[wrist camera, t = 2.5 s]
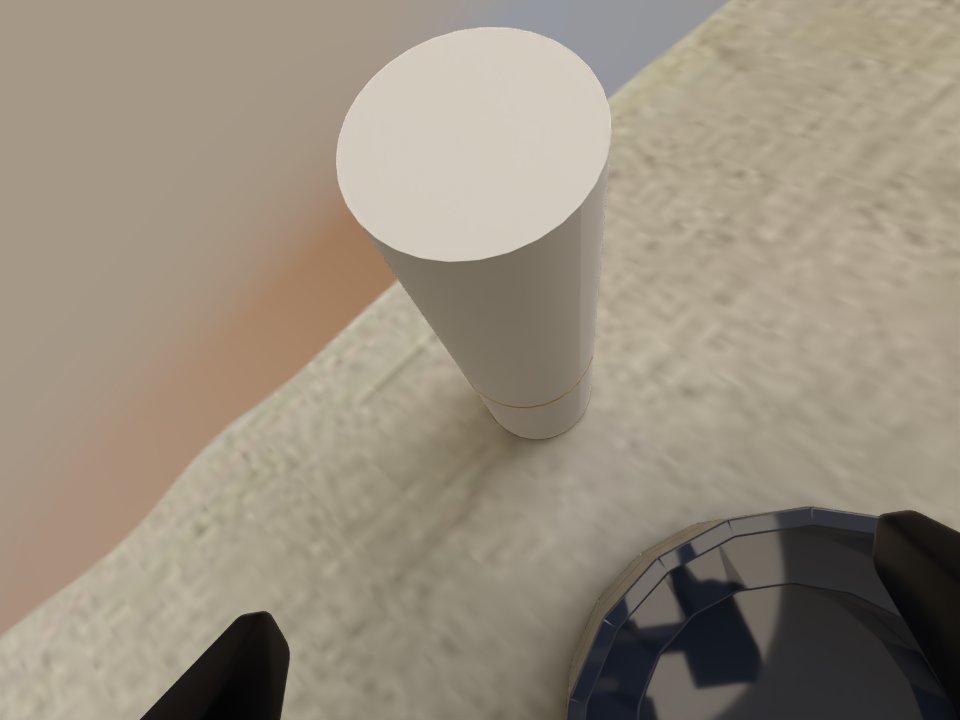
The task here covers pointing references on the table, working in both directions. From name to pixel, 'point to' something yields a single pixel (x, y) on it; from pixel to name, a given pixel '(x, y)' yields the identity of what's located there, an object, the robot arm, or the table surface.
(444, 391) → the table surface
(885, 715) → the bowl
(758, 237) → the table surface
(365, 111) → the tube
